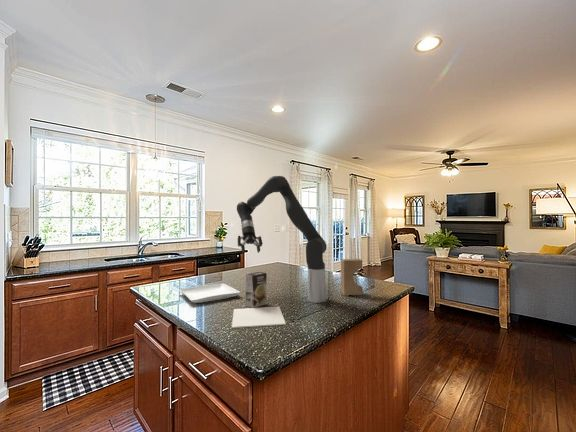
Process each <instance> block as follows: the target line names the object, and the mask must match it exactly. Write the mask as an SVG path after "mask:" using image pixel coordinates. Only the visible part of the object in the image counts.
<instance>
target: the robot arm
mask: <svg viewBox="0 0 576 432" xmlns="http://www.w3.org/2000/svg"><path fill="white" fill-rule="evenodd" d="M274 193H280V195H281V196H282V198H283V200H284V202H285V211H286V214H287V216H288V218H289V220H290V221H291V223H292V224H293V225H294V226H295V227H296V229H298V230H299V231H300V232H301V233H302V235H304V237H305V239H306V240H307V242H306V245H305V260H306V265H307V301H308V302H310V303H316V304H321V303H324V302H327V283H326V264H325V261H324V256H323V255H324V253H325V252H326V251H327V243H326V240H324V238H323V237H322V236H321V234H320V233H319V232H318V230H317V229H316V228H315V226H314V224H313V223H312V221H311V219H310V217H309V216H308V215H307V213H306V211H305V209H304V207H303V206H302V204H301V203H300V202H299V200H298V198H297V197H296V195H295V193H294V191H293V190H292V188H291V185H290V183H289V181H288V180H287V178H286V177H285V176H283V175H274V176H271V177H268V179H267V180H266V181H265V182H264V184H263V185H262V186H260V188H259V190H257V191H256V192H254V194H252V195H251V196H250V197H248V199H247V201H246V202H244V201H239V202H237V205H236V212H237V214H238V217H239V218H240V224H241V225H240V226H241V233H242V236H240V235H238V237H237V247H241V252H242V253H243V254H244V253H245V252H246V247H245V245H246V244H248V245H254V246H255V247H256V250H257V252H256V253H258V254H259V253H260V252H261V247H263V244H264V243H263V239H262V236H261V235H259V236H256V230H255V224H254V220H253V216H252V215H251V214H253V212H254V211H255V209H256V208H257V207H258V206H260V205H261V204H262V203H263V202H264V201H265V199H266V198H267V196H269V195H271V194H274ZM241 241H243V242H242V243H241Z"/></svg>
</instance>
